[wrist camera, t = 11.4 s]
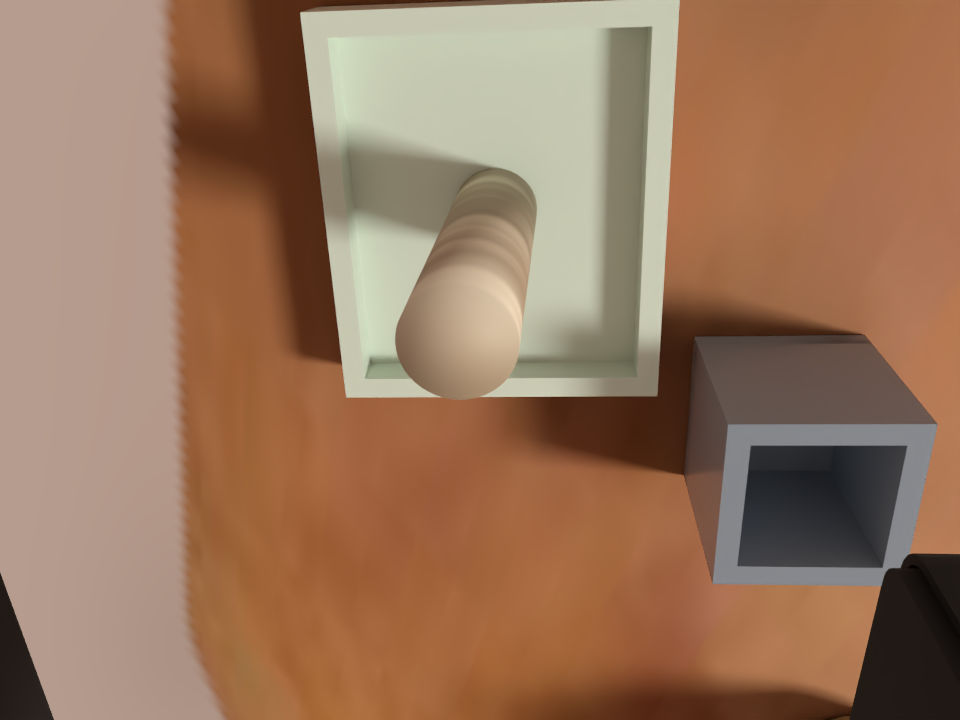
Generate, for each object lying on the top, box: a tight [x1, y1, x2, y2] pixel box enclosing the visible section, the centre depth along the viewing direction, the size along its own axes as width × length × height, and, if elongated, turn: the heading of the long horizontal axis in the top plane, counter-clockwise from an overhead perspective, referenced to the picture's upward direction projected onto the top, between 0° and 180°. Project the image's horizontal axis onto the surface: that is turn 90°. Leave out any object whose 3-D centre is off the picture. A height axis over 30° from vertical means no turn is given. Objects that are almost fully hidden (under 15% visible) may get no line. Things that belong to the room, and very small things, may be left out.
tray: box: [300, 0, 680, 397], centre depth 32 cm, size 14×12×3 cm
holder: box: [684, 335, 938, 586], centre depth 33 cm, size 7×7×7 cm
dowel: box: [395, 168, 537, 400], centre depth 26 cm, size 3×3×12 cm
